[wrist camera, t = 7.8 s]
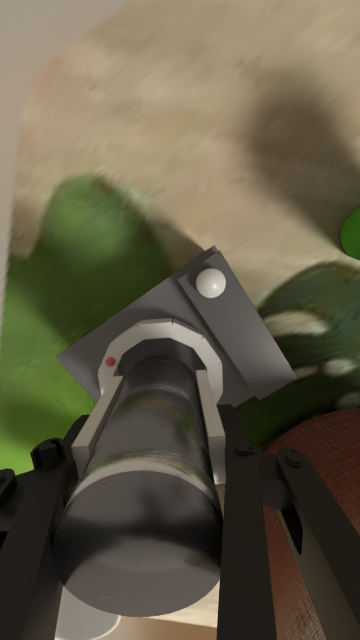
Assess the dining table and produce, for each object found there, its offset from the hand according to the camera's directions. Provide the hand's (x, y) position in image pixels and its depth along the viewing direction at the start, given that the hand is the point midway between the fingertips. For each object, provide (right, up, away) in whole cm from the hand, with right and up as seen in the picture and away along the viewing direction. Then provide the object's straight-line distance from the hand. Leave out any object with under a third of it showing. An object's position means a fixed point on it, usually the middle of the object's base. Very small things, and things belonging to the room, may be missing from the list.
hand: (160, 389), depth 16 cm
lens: (0, 0, 0) cm, 0 cm away
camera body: (+1, +3, +7) cm, 8 cm away
